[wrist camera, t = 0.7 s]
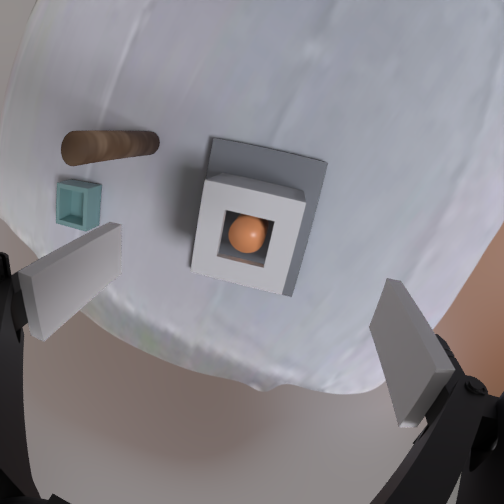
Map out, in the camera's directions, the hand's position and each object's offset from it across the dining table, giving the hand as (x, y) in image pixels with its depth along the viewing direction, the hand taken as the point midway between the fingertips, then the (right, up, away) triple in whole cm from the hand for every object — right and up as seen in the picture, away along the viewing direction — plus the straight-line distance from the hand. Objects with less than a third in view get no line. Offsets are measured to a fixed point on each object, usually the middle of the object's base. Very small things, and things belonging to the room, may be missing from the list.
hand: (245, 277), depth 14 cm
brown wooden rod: (-13, +16, +24) cm, 31 cm away
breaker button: (0, +4, +22) cm, 23 cm away
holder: (-25, +9, +28) cm, 38 cm away
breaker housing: (+1, +5, +25) cm, 26 cm away
